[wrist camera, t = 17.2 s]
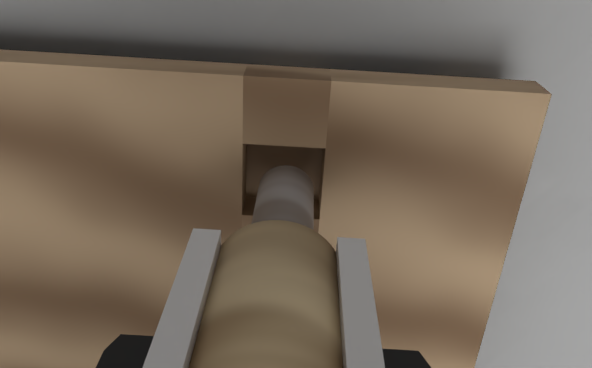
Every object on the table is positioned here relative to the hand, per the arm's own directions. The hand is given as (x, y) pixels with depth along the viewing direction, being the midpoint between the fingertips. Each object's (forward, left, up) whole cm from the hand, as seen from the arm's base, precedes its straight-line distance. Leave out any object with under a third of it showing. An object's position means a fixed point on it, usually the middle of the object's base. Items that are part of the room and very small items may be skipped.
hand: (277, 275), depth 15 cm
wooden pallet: (-12, +4, -10) cm, 16 cm away
